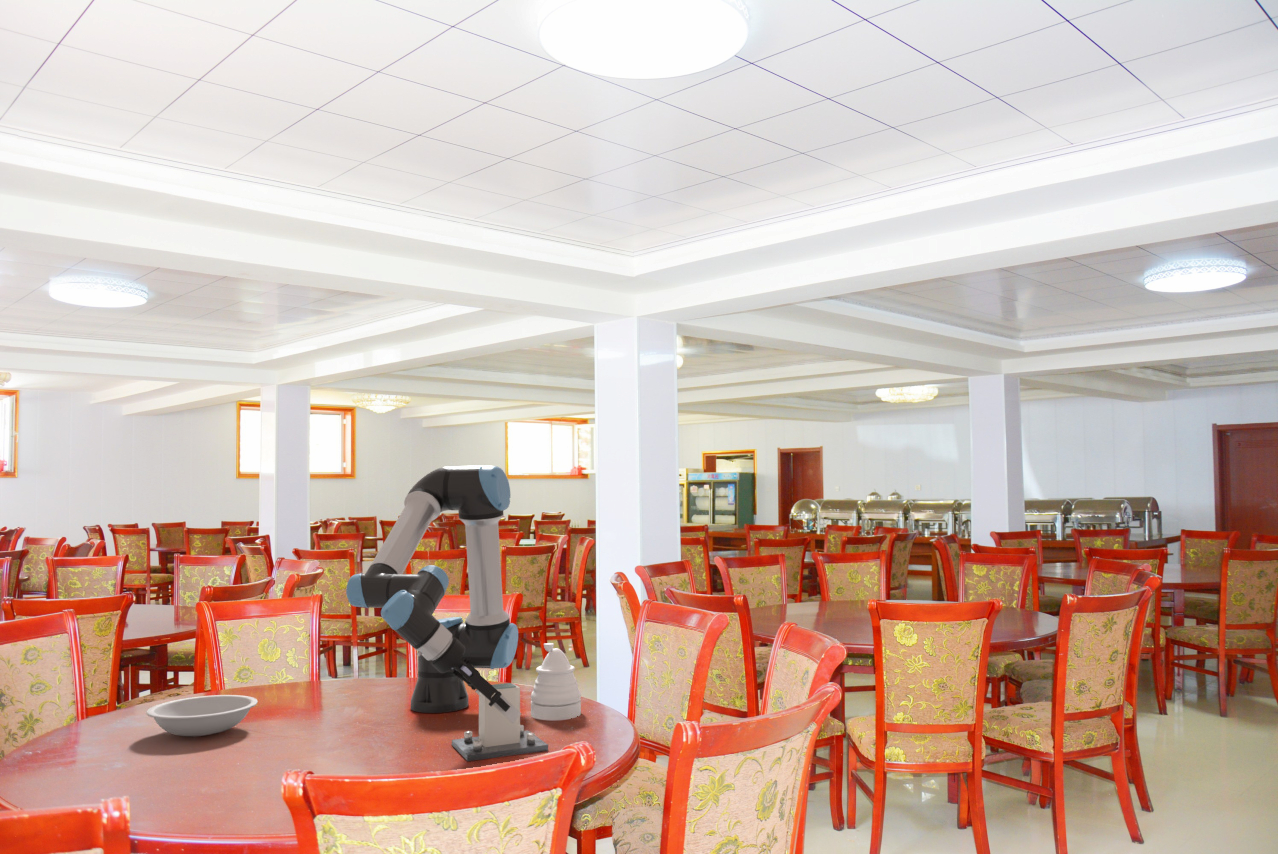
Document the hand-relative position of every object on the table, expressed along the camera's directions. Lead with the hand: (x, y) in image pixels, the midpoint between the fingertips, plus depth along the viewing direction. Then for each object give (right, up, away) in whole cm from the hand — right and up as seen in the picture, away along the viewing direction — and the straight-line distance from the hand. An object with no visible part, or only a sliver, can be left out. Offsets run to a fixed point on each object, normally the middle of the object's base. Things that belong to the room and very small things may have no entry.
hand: (507, 711), depth 199 cm
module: (-2, -6, -1) cm, 7 cm away
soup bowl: (-75, -10, +14) cm, 77 cm away
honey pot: (+8, -10, +29) cm, 32 cm away
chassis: (-2, -8, -1) cm, 8 cm away
